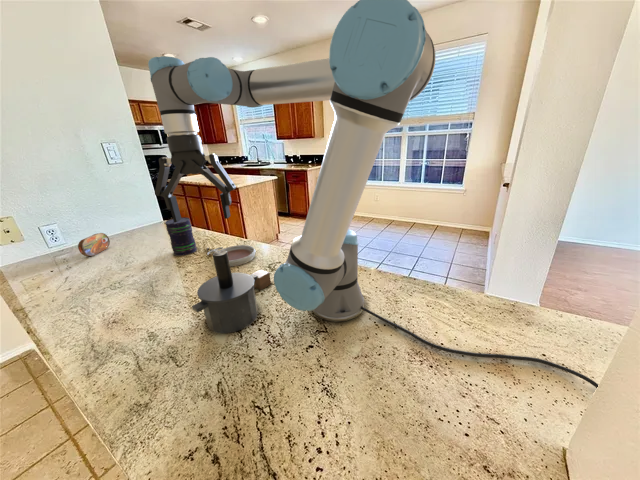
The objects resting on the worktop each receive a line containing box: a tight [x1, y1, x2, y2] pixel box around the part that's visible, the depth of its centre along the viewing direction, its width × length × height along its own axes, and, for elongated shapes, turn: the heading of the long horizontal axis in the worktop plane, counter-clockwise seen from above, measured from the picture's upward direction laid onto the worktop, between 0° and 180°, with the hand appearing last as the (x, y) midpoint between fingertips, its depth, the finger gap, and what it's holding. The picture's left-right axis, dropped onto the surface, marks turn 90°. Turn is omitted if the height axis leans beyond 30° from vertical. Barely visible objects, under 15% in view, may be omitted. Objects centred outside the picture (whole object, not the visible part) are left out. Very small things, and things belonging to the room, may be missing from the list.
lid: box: [196, 249, 255, 303], centre depth 69 cm, size 15×15×11 cm
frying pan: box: [205, 244, 257, 267], centre depth 114 cm, size 17×3×28 cm
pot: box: [191, 273, 259, 334], centre depth 72 cm, size 14×19×10 cm
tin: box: [77, 232, 111, 257], centre depth 125 cm, size 15×3×8 cm, turn 179°
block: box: [252, 269, 272, 291], centre depth 88 cm, size 4×4×4 cm
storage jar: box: [164, 216, 198, 257], centre depth 119 cm, size 10×10×15 cm
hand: (202, 219), depth 71 cm, fingers open, 13 cm apart
